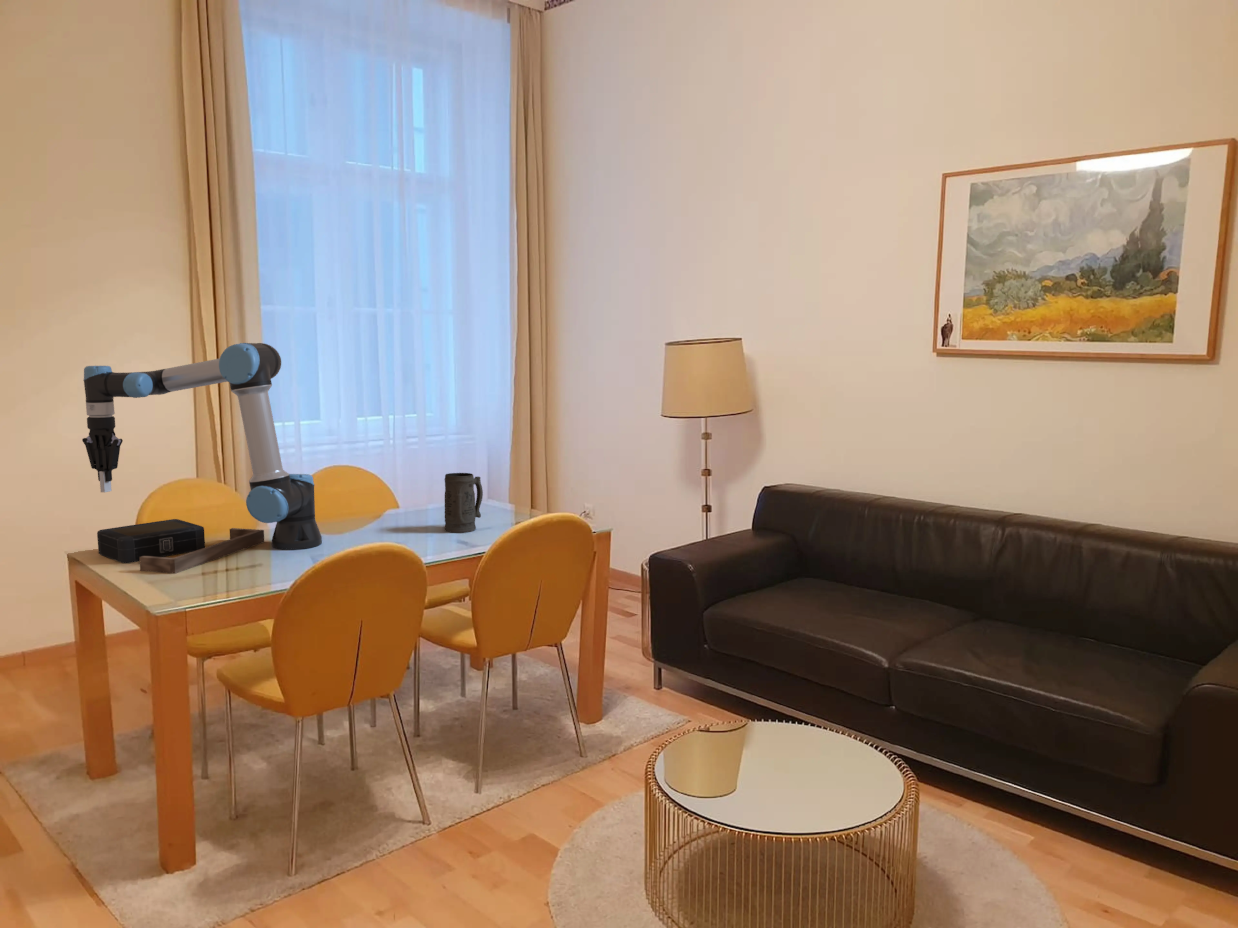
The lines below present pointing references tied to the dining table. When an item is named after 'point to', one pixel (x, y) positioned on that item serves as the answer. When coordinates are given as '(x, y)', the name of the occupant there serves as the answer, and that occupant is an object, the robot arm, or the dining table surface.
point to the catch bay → (204, 552)
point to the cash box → (150, 540)
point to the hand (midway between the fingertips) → (106, 491)
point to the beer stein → (461, 502)
